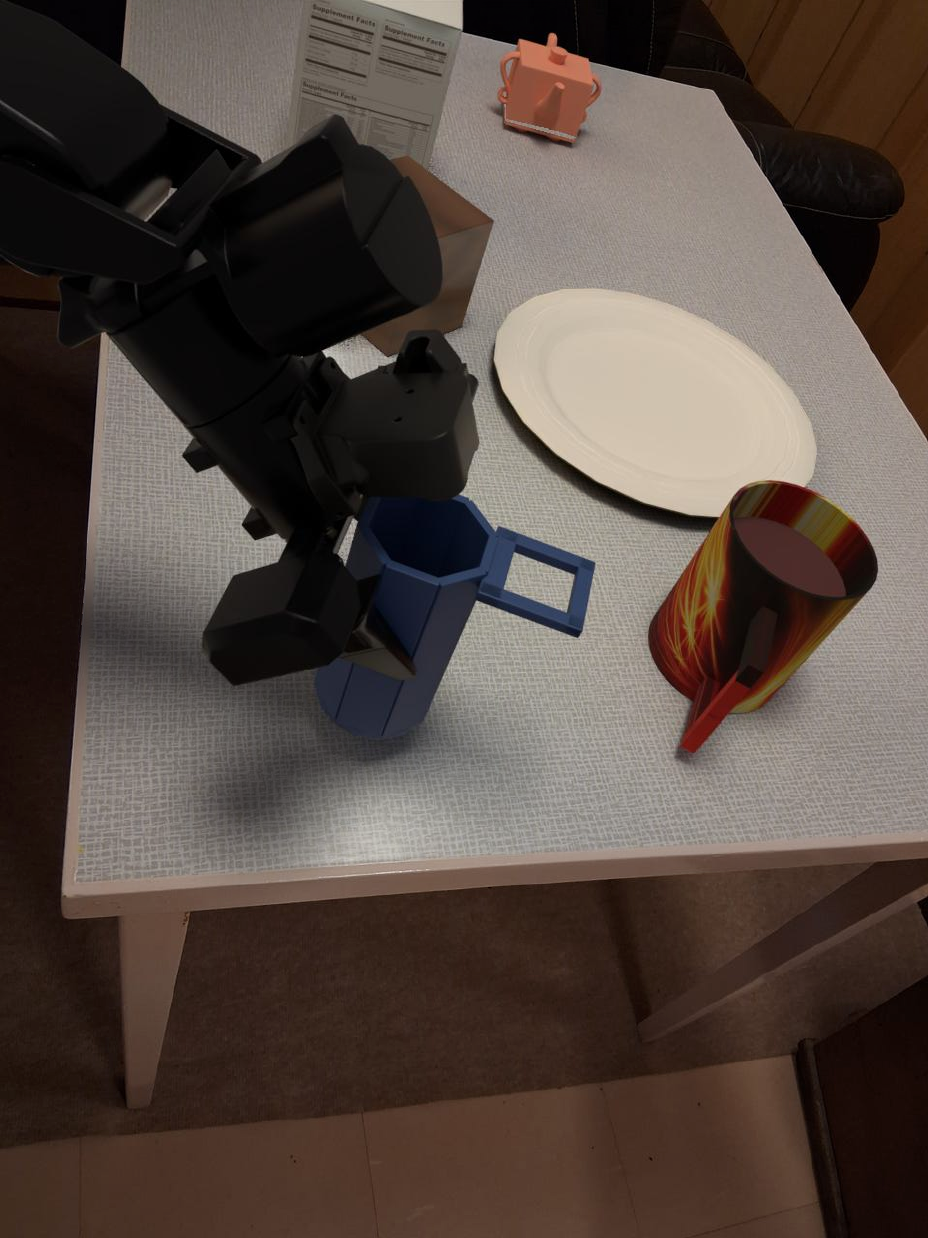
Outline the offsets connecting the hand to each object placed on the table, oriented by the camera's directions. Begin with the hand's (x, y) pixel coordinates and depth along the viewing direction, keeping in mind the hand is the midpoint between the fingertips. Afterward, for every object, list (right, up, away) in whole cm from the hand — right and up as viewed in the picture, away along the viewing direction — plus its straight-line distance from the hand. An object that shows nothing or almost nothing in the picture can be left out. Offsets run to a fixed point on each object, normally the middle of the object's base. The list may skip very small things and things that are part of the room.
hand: (425, 627), depth 49 cm
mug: (+19, -4, +16) cm, 25 cm away
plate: (+18, +19, +34) cm, 42 cm away
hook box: (-6, +26, +31) cm, 41 cm away
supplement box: (-9, +44, +45) cm, 63 cm away
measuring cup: (-1, -5, +5) cm, 7 cm away
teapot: (+10, +58, +63) cm, 86 cm away
